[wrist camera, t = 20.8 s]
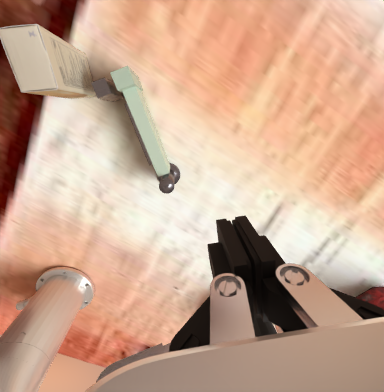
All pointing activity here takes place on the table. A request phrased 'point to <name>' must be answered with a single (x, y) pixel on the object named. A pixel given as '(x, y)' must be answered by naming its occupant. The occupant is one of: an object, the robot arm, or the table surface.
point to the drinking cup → (262, 326)
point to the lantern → (374, 296)
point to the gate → (141, 117)
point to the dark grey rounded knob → (169, 179)
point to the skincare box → (46, 63)
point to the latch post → (110, 93)
